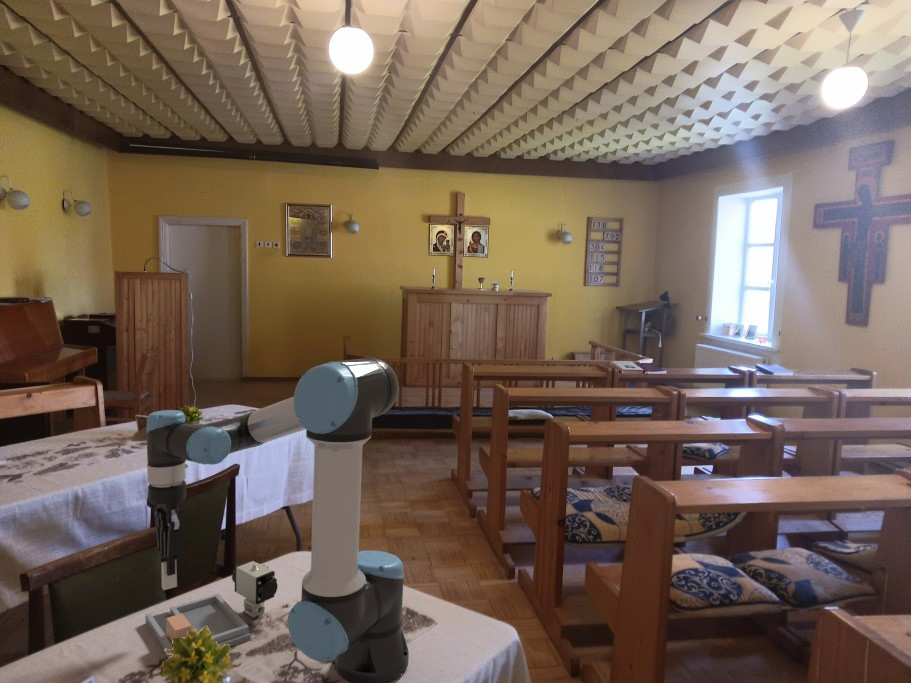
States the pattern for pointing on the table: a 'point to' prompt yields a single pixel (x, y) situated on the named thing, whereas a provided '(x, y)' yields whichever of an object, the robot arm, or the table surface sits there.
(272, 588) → the pneumatic valve
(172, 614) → the grey tray
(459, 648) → the table surface
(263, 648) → the table surface
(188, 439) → the robot arm
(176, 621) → the tan cardboard box
